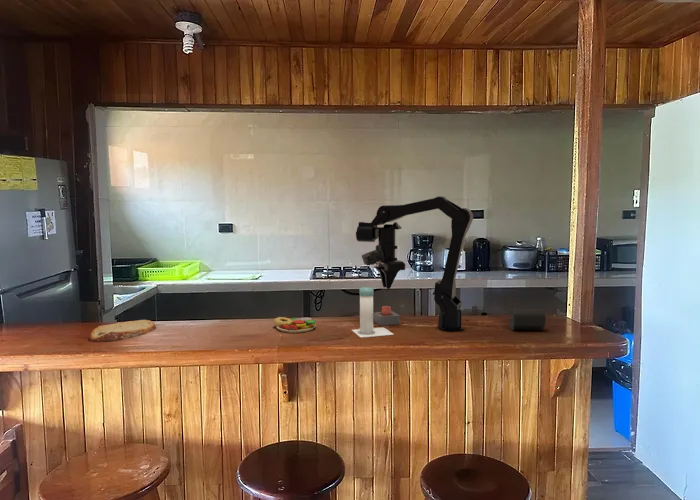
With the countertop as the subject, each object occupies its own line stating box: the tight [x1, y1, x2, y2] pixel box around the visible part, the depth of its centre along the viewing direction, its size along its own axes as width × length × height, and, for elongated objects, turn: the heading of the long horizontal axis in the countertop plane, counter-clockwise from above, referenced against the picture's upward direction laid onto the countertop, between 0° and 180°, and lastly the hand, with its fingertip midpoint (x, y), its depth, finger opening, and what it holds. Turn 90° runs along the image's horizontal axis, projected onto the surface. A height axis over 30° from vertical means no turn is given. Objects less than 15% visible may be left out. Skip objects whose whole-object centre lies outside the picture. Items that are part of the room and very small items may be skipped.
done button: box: [381, 305, 392, 316], centre depth 170 cm, size 3×3×4 cm
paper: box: [351, 327, 395, 339], centre depth 157 cm, size 11×9×1 cm
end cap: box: [508, 307, 547, 331], centre depth 161 cm, size 10×7×7 cm
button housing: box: [373, 310, 401, 326], centre depth 170 cm, size 7×7×3 cm
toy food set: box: [273, 316, 317, 334], centre depth 163 cm, size 13×13×3 cm
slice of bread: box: [88, 319, 157, 343], centre depth 157 cm, size 18×18×4 cm
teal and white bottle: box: [359, 286, 374, 334], centre depth 156 cm, size 4×4×14 cm
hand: (386, 288), depth 169 cm, fingers open, 3 cm apart
